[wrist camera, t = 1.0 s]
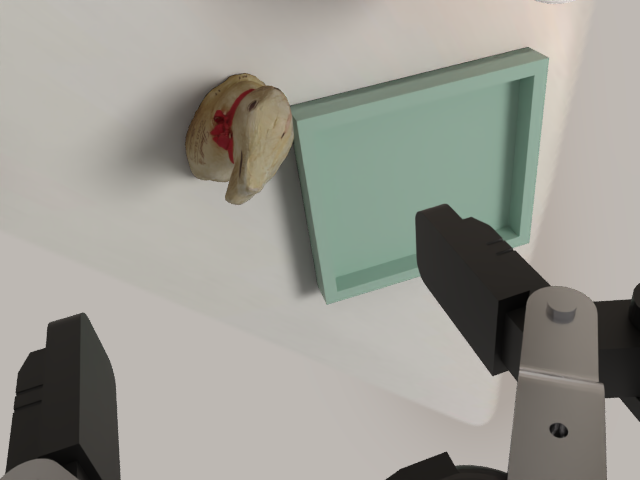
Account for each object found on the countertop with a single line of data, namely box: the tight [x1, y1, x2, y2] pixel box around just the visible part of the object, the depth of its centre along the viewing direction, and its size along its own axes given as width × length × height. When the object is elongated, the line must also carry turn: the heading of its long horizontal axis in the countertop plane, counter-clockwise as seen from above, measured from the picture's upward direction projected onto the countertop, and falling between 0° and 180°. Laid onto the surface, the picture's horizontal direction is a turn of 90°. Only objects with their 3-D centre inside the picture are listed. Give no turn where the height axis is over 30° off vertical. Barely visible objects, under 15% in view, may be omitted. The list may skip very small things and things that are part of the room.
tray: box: [290, 47, 549, 305], centre depth 45 cm, size 18×16×2 cm
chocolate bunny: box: [185, 73, 294, 205], centre depth 35 cm, size 6×8×10 cm
